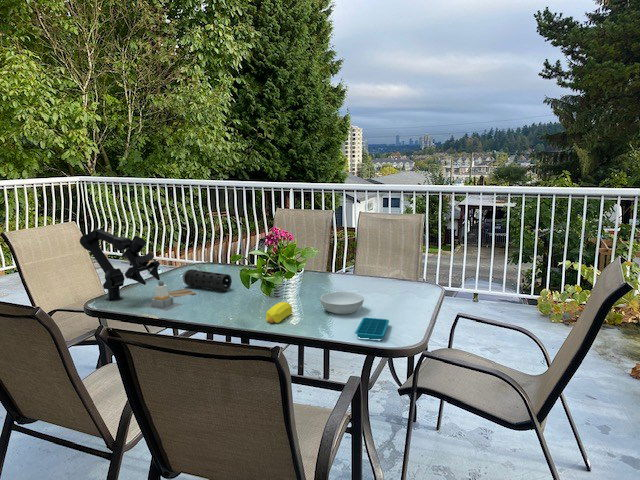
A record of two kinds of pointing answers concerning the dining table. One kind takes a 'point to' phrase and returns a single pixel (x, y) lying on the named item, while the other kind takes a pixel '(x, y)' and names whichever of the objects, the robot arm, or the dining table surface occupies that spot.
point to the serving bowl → (342, 302)
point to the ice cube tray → (372, 328)
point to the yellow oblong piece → (278, 312)
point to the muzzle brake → (207, 280)
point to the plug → (161, 291)
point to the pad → (181, 292)
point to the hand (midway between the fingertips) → (152, 282)
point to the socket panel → (162, 304)
